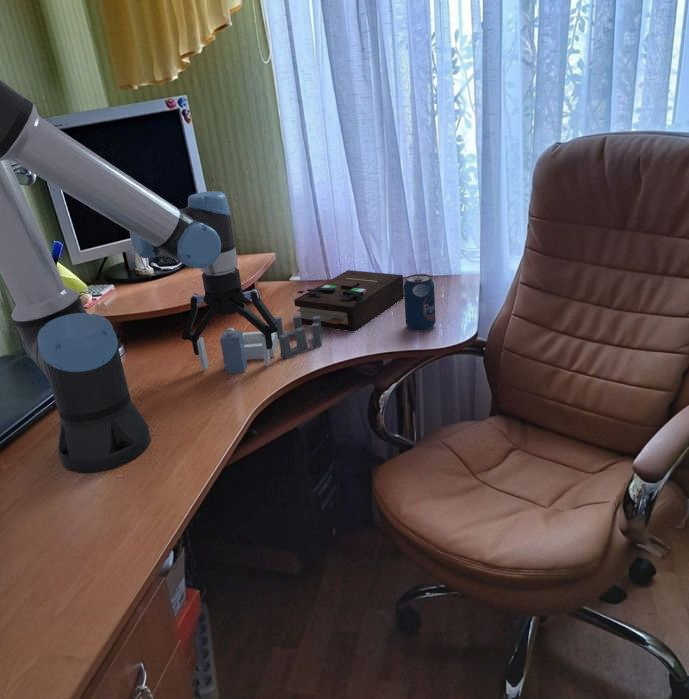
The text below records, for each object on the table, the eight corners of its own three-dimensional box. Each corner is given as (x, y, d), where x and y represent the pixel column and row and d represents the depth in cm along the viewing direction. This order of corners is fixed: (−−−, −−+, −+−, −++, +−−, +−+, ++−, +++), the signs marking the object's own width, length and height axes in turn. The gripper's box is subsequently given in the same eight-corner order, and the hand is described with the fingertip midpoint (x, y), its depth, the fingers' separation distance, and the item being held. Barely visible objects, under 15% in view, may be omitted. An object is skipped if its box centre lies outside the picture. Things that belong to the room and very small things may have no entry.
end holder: (233, 360, 147) (231, 348, 145) (240, 345, 155) (238, 333, 154) (273, 357, 146) (271, 345, 145) (278, 342, 154) (276, 330, 153)
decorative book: (410, 269, 173) (351, 307, 151) (412, 296, 176) (354, 338, 154) (348, 264, 183) (283, 299, 161) (351, 290, 186) (287, 328, 164)
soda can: (432, 332, 151) (430, 282, 146) (402, 331, 153) (399, 282, 149) (438, 321, 157) (436, 273, 152) (410, 320, 159) (407, 273, 155)
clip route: (269, 360, 145) (266, 339, 143) (276, 336, 158) (274, 317, 156) (320, 356, 144) (317, 335, 142) (323, 333, 157) (320, 313, 155)
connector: (226, 373, 141) (218, 333, 137) (229, 365, 144) (222, 326, 141) (244, 372, 141) (238, 332, 137) (247, 364, 144) (241, 325, 141)
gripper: (282, 259, 137) (295, 353, 145) (164, 270, 138) (183, 362, 146) (279, 270, 130) (292, 368, 138) (154, 280, 131) (175, 377, 139)
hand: (236, 365), depth 142 cm, fingers open, 13 cm apart
